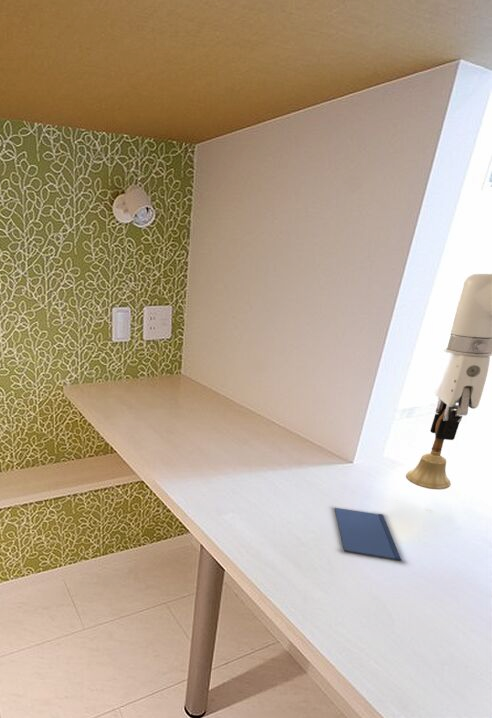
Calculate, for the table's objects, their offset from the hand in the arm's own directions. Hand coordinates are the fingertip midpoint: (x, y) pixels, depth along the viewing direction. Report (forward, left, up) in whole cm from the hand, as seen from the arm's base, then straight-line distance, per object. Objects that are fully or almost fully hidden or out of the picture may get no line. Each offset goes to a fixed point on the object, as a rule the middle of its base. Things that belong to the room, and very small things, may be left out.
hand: (441, 435), depth 89 cm
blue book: (+12, +12, -19) cm, 25 cm away
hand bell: (0, 0, -11) cm, 11 cm away
